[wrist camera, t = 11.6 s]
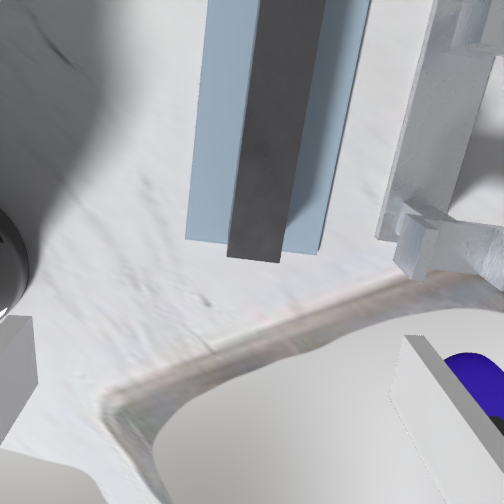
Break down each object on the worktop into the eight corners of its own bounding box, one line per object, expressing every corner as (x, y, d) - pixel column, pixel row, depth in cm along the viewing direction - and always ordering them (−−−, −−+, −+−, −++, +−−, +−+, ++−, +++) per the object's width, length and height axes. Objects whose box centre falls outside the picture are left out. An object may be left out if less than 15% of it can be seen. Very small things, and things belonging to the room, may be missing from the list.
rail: (273, 240, 43) (279, 263, 38) (227, 234, 43) (226, 256, 37) (322, -45, 35) (338, -71, 30) (265, -56, 35) (271, -83, 29)
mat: (185, 237, 44) (185, 239, 43) (216, -77, 35) (215, -80, 34) (315, 253, 45) (316, 255, 44) (377, -48, 36) (379, -50, 35)
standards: (364, 235, 44) (409, 286, 33) (422, -4, 37) (504, -43, 26) (441, 245, 45) (511, 298, 34) (513, 12, 38) (631, -19, 26)
